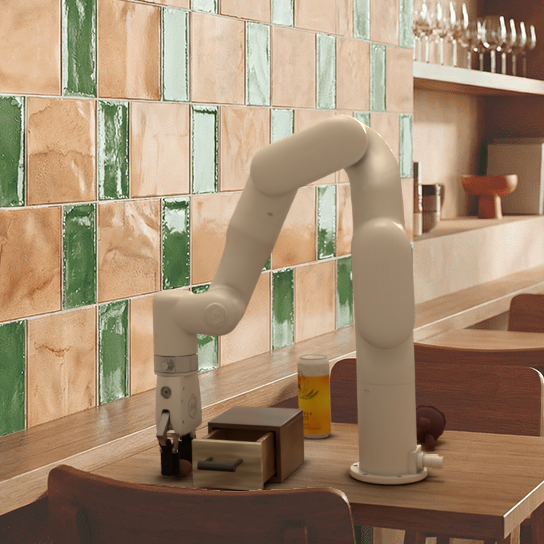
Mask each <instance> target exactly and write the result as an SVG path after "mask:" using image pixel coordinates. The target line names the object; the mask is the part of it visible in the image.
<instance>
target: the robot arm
mask: <svg viewBox="0 0 544 544" xmlns="http://www.w3.org/2000/svg"><path fill="white" fill-rule="evenodd" d="M249 167H250V168H249V174H248V177H247V179H246V182H245V185H244V188H243V189H242V192H241V194H240V197H239V199H238V201H237V204H236V206H235V208H234V210H233V213H232V215H231V217H230V220H229V222H228V225H227V229H226V232H225V233H226V234H225V243H224V249H223V252H222V255H221V258H220V260H219V263H218V265H217V268H216V270H215V273H214V275H213V278H212V280H211V282H210V284H209V286H208V289H207V291H206V292H201V293H194V292H193V291H190V290H187V289H167V290H162V291H161V290H160V291H158V292H156V293H155V294H154V295H153V298H152V306H151V307H152V334H153V335H152V339H153V341H152V343H153V373H154V375H157V376H156V384H155V385H156V386H155V429H156V433H155V437H156V439H157V443H158V446H159V447H158V448H159V453H160V475H161V476H162V477H169V478H170V477H171V478H178V477H181V476H180V460H187V461H189V462H190V463H191V464H192V466H193V463H192V440H193V439H197V433H196V430H197V429H198V428H199V427H200V426H201V425H202V423H203V410H202V395H201V385H200V379H199V339H198V338H199V337H198V336H199V335H203V336H209V337H222V336H226V335H228V334H230V333H231V332H233V331H234V330H235V329H236V328H237V326H238V325H239V323H240V322H241V321H242V319H243V318H244V315H245V313H246V311H247V308H248V307H249V304H250V301H251V299H252V297H253V294H254V291H255V289H256V287H257V284H258V283H259V280H260V277H261V276H262V275H261V274H262V272H263V270H264V268H265V265H266V263H267V262H268V260H269V258H270V256H271V254H272V253H273V250H274V248H275V246H276V243H277V241H278V238H279V235H280V234H281V231H282V229H283V226H284V224H285V221H286V219H287V217H288V215H289V212H290V209H291V207H292V205H293V202H294V200H295V199H296V196H297V193H298V191H299V189H301V188H303V187H306V186H307V185H310V184H312V183H315V182H317V181H319V180H321V179H323V178H326V177H327V176H330V175H332V174H335V173H336V172H338V171H341V170H343V171H344V172H345V173H346V175H347V177H348V182H349V191H350V201H351V214H352V216H351V217H352V236H351V241H350V260H351V275H352V279H351V280H352V294H353V295H352V296H353V318H354V332H355V333H354V335H355V336H354V337H355V361H356V362H355V364H356V397H357V398H356V402H357V405H356V406H357V407H356V409H357V438H358V441H357V442H358V461H356V462H354V463H352V464H351V465H350V467H349V475H350V476H351V477H352V478H353V479H356V480H358V481H361V482H364V483H369V484H376V485H404V484H411V483H415V482H419V481H422V480H424V479H425V478H427V477H428V468H432V469H437V470H444V468H445V457H444V456H440V455H439V454H438V453H436V454H435V453H430V454H429V453H425V452H424V451H422V445H421V444H418V440H417V434H416V408H417V406H416V404H417V403H416V401H417V400H416V367H415V366H416V365H415V342H414V328H415V326H416V325H415V324H416V302H415V300H416V299H415V283H414V267H413V265H414V263H413V252H412V251H413V250H412V244H411V241H410V240H411V239H410V237H409V236H408V234H407V230H406V222H405V221H406V220H405V207H404V197H403V186H402V178H401V172H400V167H399V164H398V160H397V157H396V155H395V154H394V151H393V150H392V148H391V147H390V145H389V143H388V142H387V141H386V139H385V138H384V137H383V136H382V135H381V134H379V132H377V131H376V130H374V129H373V128H371V127H370V126H368V125H366V124H364V123H363V122H361V121H359V120H358V119H357V118H355V117H353V116H351V115H348V114H334V115H330V116H328V117H325V118H323V119H321V120H320V121H318V122H315V123H313V124H311V125H308V126H307V127H305V128H302V129H300V130H298V131H296V132H294V133H292V134H290V135H287V136H286V137H283V138H281V139H278V140H276V141H273V142H271V143H269V144H266V145H264V146H262V147H260V148H259V149H258V150H257V151H256V152H255V154H254V155H253V157H252V158H251V162H250V166H249ZM170 431H173V432H170ZM171 439H172V440H171Z"/></svg>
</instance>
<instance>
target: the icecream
mask: <svg viewBox="0 0 544 544" xmlns="http://www.w3.org/2000/svg"><path fill="white" fill-rule="evenodd" d="M446 424H447V420H446V416H445V413H444V412H443V411H441V410H440V409H438V408H437V407H435V406H433V405H424V404H420V405H418V406H416V434H417V442H421V443H423V444H425V446H426V448H427V450H429V451H433V450H434V449H435V447H436V441H437V440H438V439H440V437H441V436H442V435H443V434H444V431H445V427H446Z"/></svg>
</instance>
